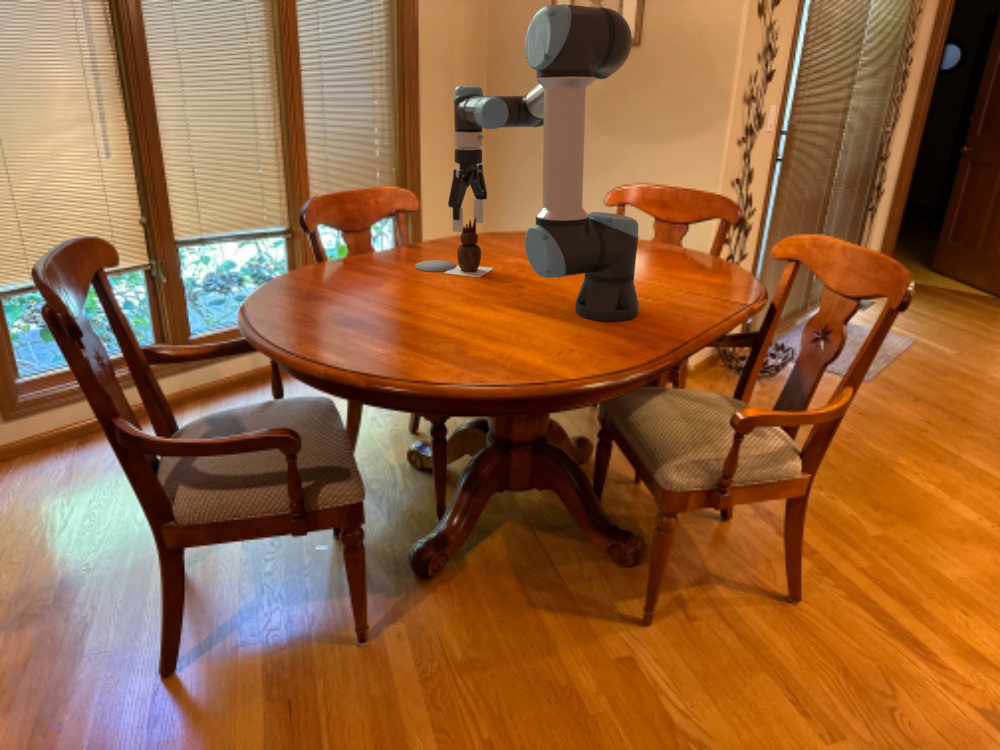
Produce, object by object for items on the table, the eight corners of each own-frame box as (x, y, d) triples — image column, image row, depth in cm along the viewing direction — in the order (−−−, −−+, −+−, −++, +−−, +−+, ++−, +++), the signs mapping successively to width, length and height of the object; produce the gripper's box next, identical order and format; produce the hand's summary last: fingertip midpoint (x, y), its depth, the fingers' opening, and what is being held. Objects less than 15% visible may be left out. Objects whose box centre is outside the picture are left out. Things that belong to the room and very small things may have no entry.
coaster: (444, 273, 195) (444, 272, 195) (407, 269, 199) (407, 267, 199) (462, 264, 205) (462, 262, 205) (427, 259, 209) (427, 258, 209)
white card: (478, 277, 192) (478, 277, 192) (443, 273, 196) (443, 272, 196) (494, 268, 201) (494, 268, 201) (460, 264, 205) (460, 264, 205)
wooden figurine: (482, 268, 201) (482, 216, 195) (479, 273, 195) (479, 220, 189) (459, 267, 201) (458, 215, 195) (456, 272, 196) (455, 219, 190)
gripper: (460, 153, 173) (461, 237, 182) (499, 144, 194) (498, 220, 203) (434, 151, 176) (435, 234, 184) (475, 143, 197) (474, 217, 205)
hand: (468, 226), depth 193 cm, fingers open, 13 cm apart
